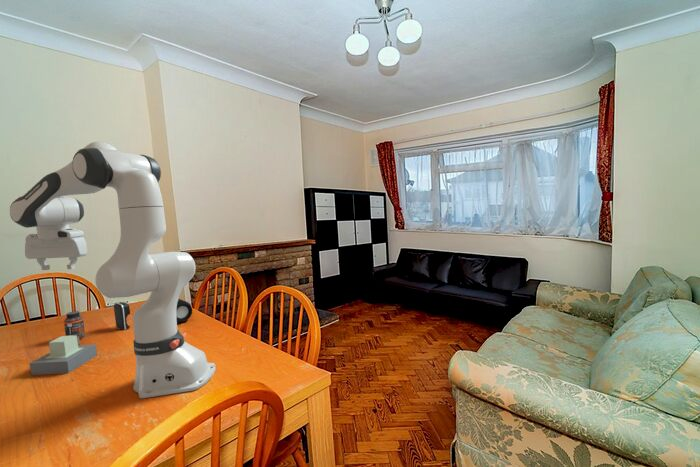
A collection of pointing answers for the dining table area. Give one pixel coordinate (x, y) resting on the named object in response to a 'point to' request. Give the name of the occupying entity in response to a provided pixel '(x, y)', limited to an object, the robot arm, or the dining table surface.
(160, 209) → the robot arm
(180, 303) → the portable speaker
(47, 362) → the base block
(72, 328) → the supplement bottle
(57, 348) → the sage cube
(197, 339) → the dining table surface
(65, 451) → the dining table surface
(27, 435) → the dining table surface
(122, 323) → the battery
